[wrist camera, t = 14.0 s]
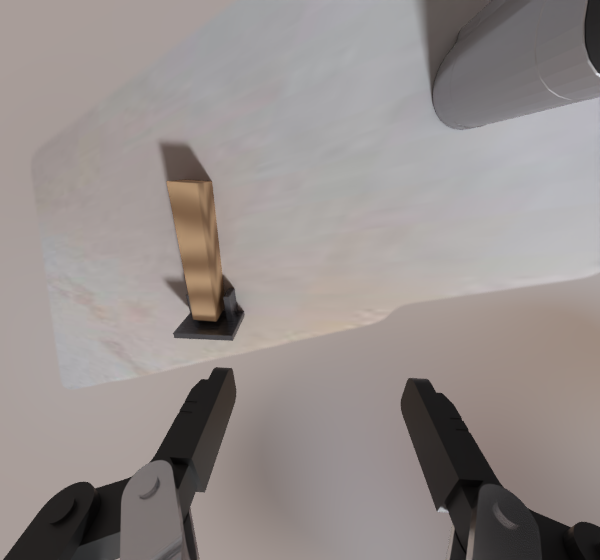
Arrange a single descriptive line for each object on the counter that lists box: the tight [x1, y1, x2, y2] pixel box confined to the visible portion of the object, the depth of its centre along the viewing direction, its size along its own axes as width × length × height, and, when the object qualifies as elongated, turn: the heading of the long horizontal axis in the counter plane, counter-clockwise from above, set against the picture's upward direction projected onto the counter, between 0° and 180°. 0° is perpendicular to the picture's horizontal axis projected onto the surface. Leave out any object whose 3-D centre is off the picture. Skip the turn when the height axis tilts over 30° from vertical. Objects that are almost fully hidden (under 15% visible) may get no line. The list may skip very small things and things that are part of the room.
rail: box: [167, 180, 225, 321], centre depth 36 cm, size 22×4×5 cm, turn 177°
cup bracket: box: [173, 288, 244, 341], centre depth 39 cm, size 6×10×7 cm, turn 89°
